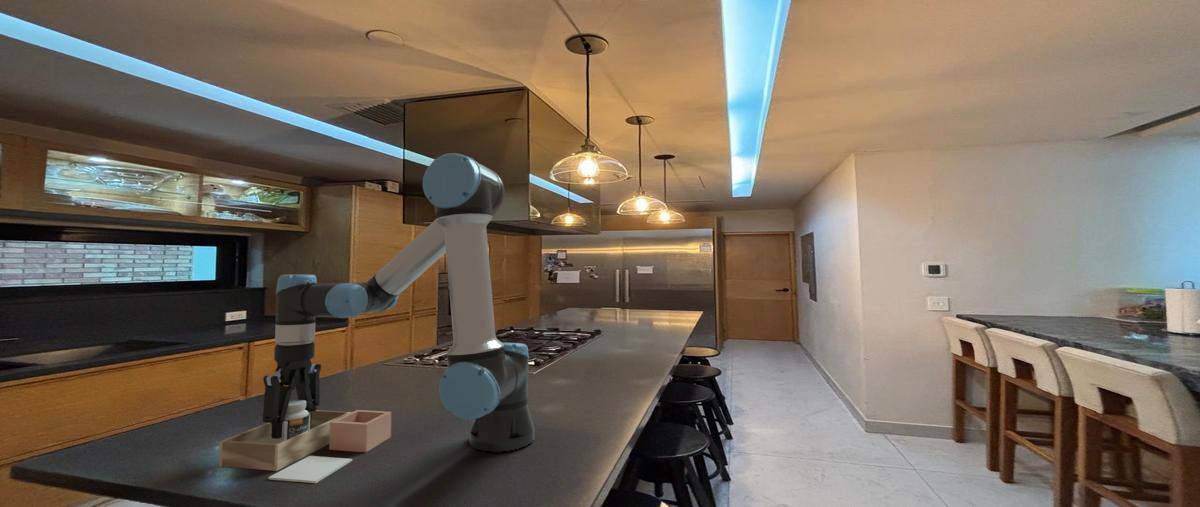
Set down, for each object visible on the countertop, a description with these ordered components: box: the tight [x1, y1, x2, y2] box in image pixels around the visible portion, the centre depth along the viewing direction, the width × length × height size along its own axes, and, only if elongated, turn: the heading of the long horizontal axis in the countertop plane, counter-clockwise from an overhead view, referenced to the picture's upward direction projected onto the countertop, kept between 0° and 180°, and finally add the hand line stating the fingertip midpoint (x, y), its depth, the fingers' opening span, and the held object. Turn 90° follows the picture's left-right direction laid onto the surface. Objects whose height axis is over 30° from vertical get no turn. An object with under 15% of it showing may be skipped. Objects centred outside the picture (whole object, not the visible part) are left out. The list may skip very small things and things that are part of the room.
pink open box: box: [328, 409, 393, 453], centre depth 103 cm, size 9×9×6 cm
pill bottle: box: [284, 399, 309, 440], centre depth 100 cm, size 6×6×10 cm
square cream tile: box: [267, 455, 353, 484], centre depth 89 cm, size 10×10×1 cm
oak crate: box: [218, 409, 352, 472], centre depth 100 cm, size 21×13×5 cm, turn 172°
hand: (291, 446), depth 100 cm, fingers closed on pill bottle, 6 cm apart
